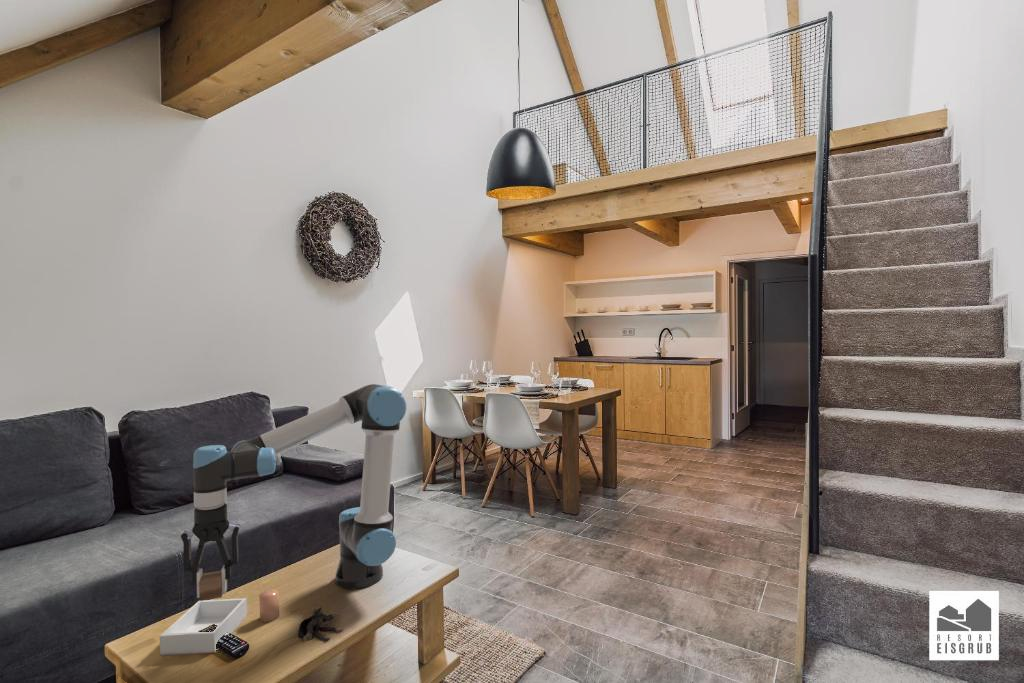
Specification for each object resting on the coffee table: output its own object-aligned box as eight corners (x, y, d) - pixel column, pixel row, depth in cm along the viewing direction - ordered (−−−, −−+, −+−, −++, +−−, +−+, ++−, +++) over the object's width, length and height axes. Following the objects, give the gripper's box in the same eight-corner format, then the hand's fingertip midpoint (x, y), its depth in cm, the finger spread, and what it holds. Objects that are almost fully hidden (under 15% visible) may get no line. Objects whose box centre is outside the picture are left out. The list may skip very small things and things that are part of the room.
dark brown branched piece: (316, 645, 132) (293, 608, 138) (305, 668, 136) (283, 631, 141) (354, 622, 142) (331, 589, 147) (343, 645, 145) (320, 611, 151)
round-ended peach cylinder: (282, 612, 150) (281, 588, 150) (275, 621, 145) (274, 597, 145) (264, 613, 150) (264, 589, 150) (257, 622, 145) (256, 598, 145)
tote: (247, 615, 149) (246, 598, 149) (214, 652, 132) (214, 633, 132) (199, 617, 149) (198, 600, 149) (160, 655, 131) (159, 635, 131)
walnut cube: (221, 597, 134) (221, 578, 134) (199, 601, 133) (199, 581, 132) (225, 588, 139) (224, 570, 139) (203, 592, 137) (203, 573, 137)
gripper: (250, 497, 142) (252, 581, 142) (174, 505, 136) (176, 593, 136) (246, 505, 135) (248, 593, 135) (166, 514, 129) (168, 606, 129)
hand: (212, 593), depth 136 cm, fingers closed on walnut cube, 5 cm apart
